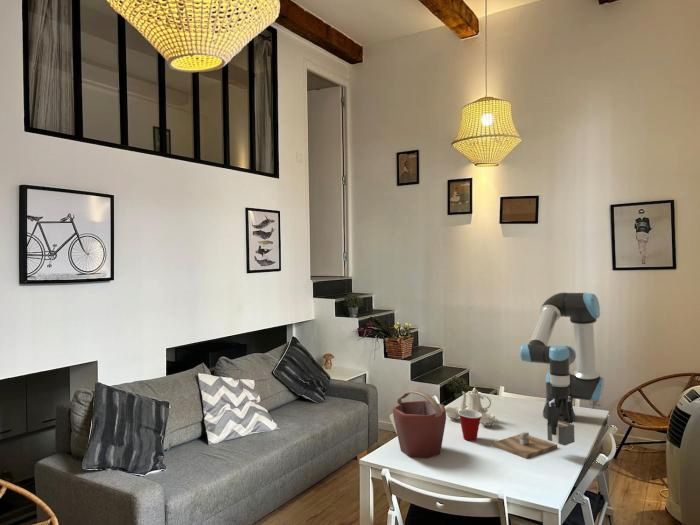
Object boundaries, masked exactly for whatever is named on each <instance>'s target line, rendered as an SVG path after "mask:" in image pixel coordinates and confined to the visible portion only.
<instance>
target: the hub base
mask: <svg viewBox="0 0 700 525" xmlns="http://www.w3.org/2000/svg"><path fill="white" fill-rule="evenodd" d="M529 433H530V432H528V431H525V432H524V431H523V432H521V433H520V432H519V434H515V435H513V436H509V437H505V438H503V439H500V440H496V441H494V442H492V443H491V444H492V447H494V448H496V449H499V450H502V451H505V452H507V453H510V454H513V455H514V456H518V457H521V458H524V459H531V458H532V457H535V456H538V455H541V454H545V453H547V452H550V451H553V450H555V449H558V443H555V442H552V441H549V440H544V439H543V438H542V439H541V438H539V437H536V436H533V435H530V434H529Z"/></svg>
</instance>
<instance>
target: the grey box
mask: <svg viewBox="0 0 700 525" xmlns="http://www.w3.org/2000/svg"><path fill="white" fill-rule="evenodd" d="M546 425H547V426H546V427H547V429H546V430H547V441H548V442H552V429H551V426H549V425H548V422H547V423H546ZM557 427H559V443H557V445H558V444H559V445H562V446H568V445H570V444H573V443H575V441H576V440H575V425H574V424H573V423H570V424H569V423H566V422H565V421H559V420H558V425H557Z"/></svg>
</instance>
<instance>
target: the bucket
mask: <svg viewBox="0 0 700 525" xmlns="http://www.w3.org/2000/svg"><path fill="white" fill-rule="evenodd" d="M410 394H416V395H418V396H421V397H423V398H424V399H425V400H413V401H402V400H403V399H405V398H406V397H408V396H409V395H410ZM396 402H397V405H396V406H394V407H393V408H392V416H393V420H394V421H393V422H394V426H395V431H396V435H397V438H398V439H397V440H398V444H399V448H400V452H402V453H403V454H404V455H405V456H407V457H408V458H415V459H426V460H427V459H430V458H433V457H437V456H440V455H441V451H442V446H443V445H442V444H443V441H444V440H443V439H444V434H445V427H446V423H447V422H446V420H447V413H446V410H445V409H446V407H445V405H444V404H442V403H439V402H437V401H436V400H435V398H433V397H432V396H431V395H430V394H428V393H426V392H424V391H419V390H408V391H405V392H404V393H403V394H401V395H400V396H399V397H398V398H397V400H396Z"/></svg>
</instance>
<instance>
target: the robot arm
mask: <svg viewBox="0 0 700 525" xmlns="http://www.w3.org/2000/svg"><path fill="white" fill-rule="evenodd" d="M600 307H601V306H600V302H599V298H598V297H597V295H596V294H595V293H592V292H591V293H589V292H588V293H587V292H559V293H555V294H553V295H551V296H550V297H549V298H547V299H546V300H545V301H544V302H543V304H542V305H541V307H540V309H539V314H540V315H539V317H538V320H537V323H536V325H535V328H534V330H533V333H532V336H531V338H530V340H529V342H528V344H527V343H526V344H522V345H521V346H520V348H519V357H520V360H521V361H522V362H526V363H537V364H547V365H549V372H547V373H546V375H545V395H546V397H545V399H546V400H545V404H544V407H543V410H542V417H543V418H545V419H546V420H547V423H548V425H549V426H551V429H552V441H551V443H554V444H558V443H559V427H557V425H558V420H559V421H562V422H566V423H569V424H573V421H574V420H576V412H575V411H574V407H573V406H574V405H573V404H574V403H573V399H575V400H583V401H589V402H599V401H600V400H601V399H602V396H603V393H604V385H605V378H604V377H602V376H601V375H600V372H599V371H598V370H597V366H596V364H597V363H596V348H595V331H594V324H595V323H596V322H597V321H598V320H597V319H599V318H600V316H601V308H600ZM562 317H564V318H565V317H566V318H569V321H570V323H571V324H573V330H574V331H573V332H574V333H573V334H574V346H575V348H574V347H572V346H570V345H552V346H550V345H548V344H549V342H550V339H551V338H552V337H551V336H552V334H553V331H554V328H555V326H556V323H557V321H558V320H560V318H562ZM574 361H575V362H576V370H574V372H573V374H572V373H571V371H570V365H572V364H574Z"/></svg>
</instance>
